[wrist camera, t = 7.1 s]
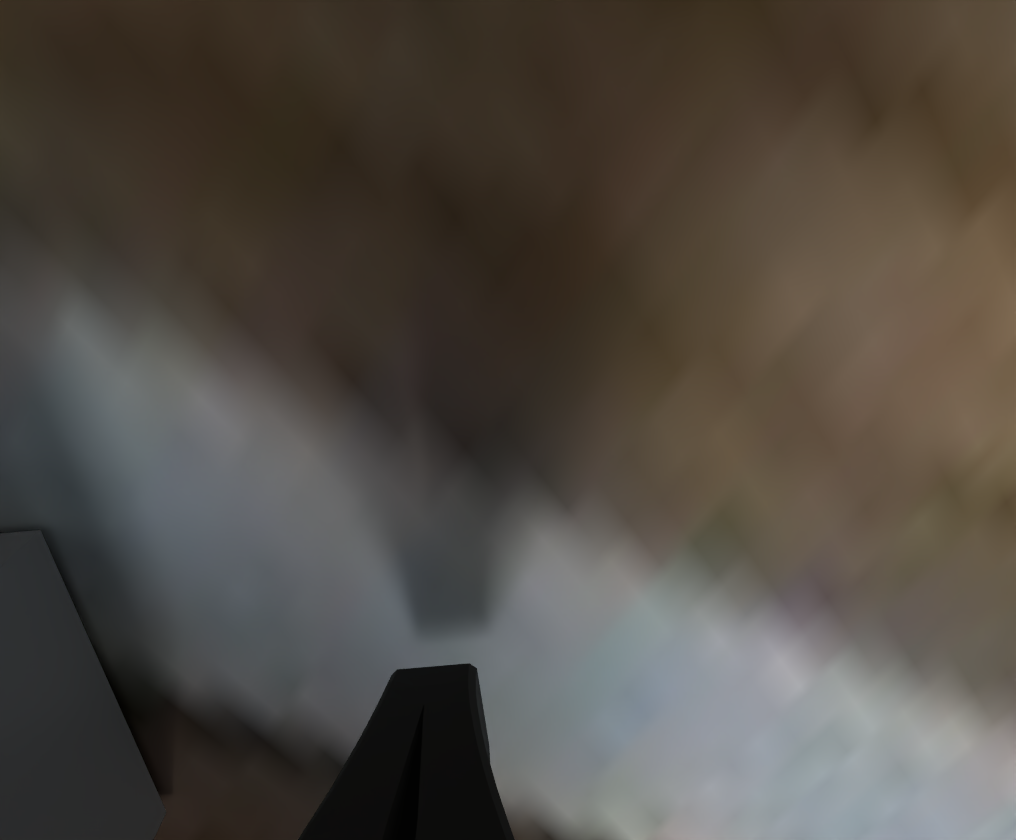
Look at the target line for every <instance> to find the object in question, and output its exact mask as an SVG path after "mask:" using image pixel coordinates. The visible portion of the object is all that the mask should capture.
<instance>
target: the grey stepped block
mask: <svg viewBox="0 0 1016 840" xmlns="http://www.w3.org/2000/svg"><path fill="white" fill-rule="evenodd" d="M165 814H166V810H165V807H164V805H163V803H162V801H161V798H160V796H159V794H158V792H157V790H156V787H155V785H154V783H153V781H152V778H151V776H150V774H149V772H148V769H147V767H146V765H145V763H144V760H143V758H142V756H141V754H140V752H139V749H138V747H137V745H136V743H135V740H134V738H133V736H132V734H131V731H130V729H129V727H128V725H127V722H126V720H125V718H124V716H123V714H122V711H121V709H120V707H119V705H118V702H117V700H116V698H115V696H114V693H113V691H112V689H111V687H110V684H109V682H108V680H107V678H106V676H105V673H104V671H103V669H102V667H101V664H100V662H99V660H98V658H97V655H96V653H95V651H94V649H93V646H92V644H91V642H90V640H89V638H88V635H87V633H86V631H85V629H84V626H83V624H82V622H81V620H80V617H79V615H78V613H77V611H76V608H75V606H74V604H73V602H72V600H71V597H70V595H69V593H68V591H67V588H66V586H65V584H64V582H63V579H62V577H61V575H60V573H59V570H58V568H57V566H56V564H55V562H54V559H53V557H52V555H51V553H50V550H49V548H48V546H47V544H46V541H45V539H44V537H43V535H42V532H41V530H34V531H22V532H11V533H0V840H154V837H155V835H156V833H157V831H158V829H159V827H160V825H161V823H162V821H163V819H164V816H165Z"/></svg>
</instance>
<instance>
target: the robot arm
mask: <svg viewBox="0 0 1016 840" xmlns="http://www.w3.org/2000/svg"><path fill="white" fill-rule="evenodd" d="M298 840H515V839H514V837H513V834H512V831H511V828H510V826H509V823H508V820H507V817H506V814H505V811H504V808H503V805H502V802H501V799H500V796H499V793H498V790H497V787H496V783H495V780H494V776H493V773H492V769H491V766H490V753H489V742H488V735H487V729H486V723H485V717H484V710H483V704H482V698H481V692H480V685H479V679H478V673H477V668H475V667H474V666H472V665H471V664H458V665H446V666H434V667H422V668H411V669H399V670H396V671H395V672H394V673H393V674H392V675H391V677H390V680H389V682H388V684H387V686H386V688H385V690H384V692H383V694H382V696H381V698H380V701H379V703H378V705H377V707H376V709H375V710H374V712H373V714H372V716H371V718H370V720H369V722H368V724H367V726H366V728H365V729H364V731H363V733H362V735H361V737H360V739H359V741H358V742H357V744H356V746H355V748H354V749H353V751H352V753H351V755H350V756H349V758H348V760H347V762H346V763H345V765H344V767H343V768H342V770H341V772H340V774H339V775H338V777H337V779H336V781H335V782H334V784H333V786H332V787H331V789H330V791H329V792H328V794H327V795H326V797H325V798H324V800H323V802H322V803H321V805H320V806H319V808H318V809H317V811H316V812H315V814H314V815H313V817H312V819H311V820H310V822H309V823H308V825H307V826H306V828H305V829H304V831H303V833H302V834H301V836H300V837H299V839H298Z"/></svg>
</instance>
